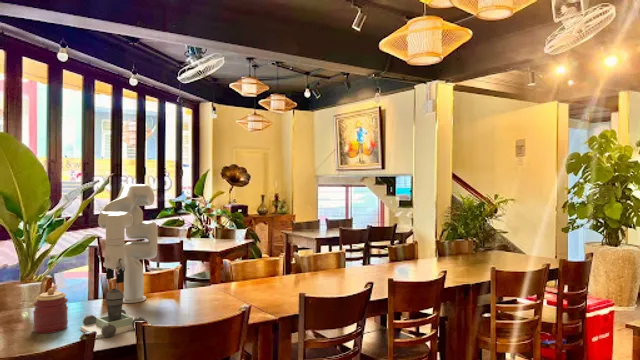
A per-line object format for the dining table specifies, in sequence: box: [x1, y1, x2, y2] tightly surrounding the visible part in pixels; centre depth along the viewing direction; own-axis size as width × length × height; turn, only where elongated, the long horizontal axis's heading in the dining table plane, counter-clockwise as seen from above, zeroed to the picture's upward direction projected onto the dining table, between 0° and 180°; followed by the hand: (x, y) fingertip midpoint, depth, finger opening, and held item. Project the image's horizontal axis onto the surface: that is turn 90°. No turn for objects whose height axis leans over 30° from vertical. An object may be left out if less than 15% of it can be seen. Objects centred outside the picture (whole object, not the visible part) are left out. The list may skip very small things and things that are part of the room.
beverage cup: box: [105, 283, 124, 322], centre depth 195 cm, size 7×7×20 cm
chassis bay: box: [80, 309, 146, 339], centre depth 195 cm, size 21×22×5 cm
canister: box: [32, 287, 69, 334], centre depth 193 cm, size 13×13×18 cm
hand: (115, 280), depth 195 cm, fingers open, 9 cm apart
